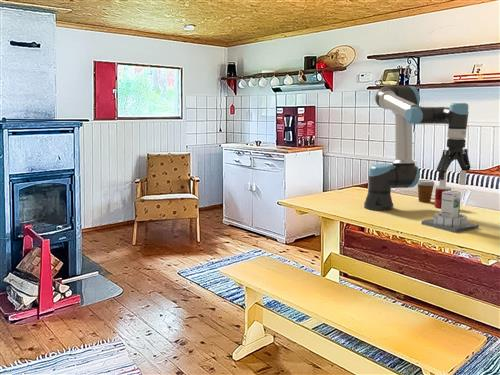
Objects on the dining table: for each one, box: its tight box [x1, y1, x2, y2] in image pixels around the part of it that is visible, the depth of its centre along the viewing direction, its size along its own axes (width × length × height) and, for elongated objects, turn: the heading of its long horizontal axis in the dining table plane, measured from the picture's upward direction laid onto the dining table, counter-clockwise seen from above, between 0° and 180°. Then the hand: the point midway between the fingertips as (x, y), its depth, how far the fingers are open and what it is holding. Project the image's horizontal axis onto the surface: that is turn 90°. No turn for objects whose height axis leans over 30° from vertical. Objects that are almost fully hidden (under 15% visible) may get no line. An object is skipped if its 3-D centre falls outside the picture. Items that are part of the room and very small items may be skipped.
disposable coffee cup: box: [416, 179, 435, 204], centre depth 272 cm, size 10×10×12 cm
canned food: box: [434, 185, 452, 210], centre depth 256 cm, size 8×8×11 cm
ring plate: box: [421, 211, 480, 233], centre depth 216 cm, size 18×16×5 cm
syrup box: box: [440, 190, 462, 218], centre depth 215 cm, size 6×6×14 cm
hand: (452, 185), depth 213 cm, fingers open, 13 cm apart
